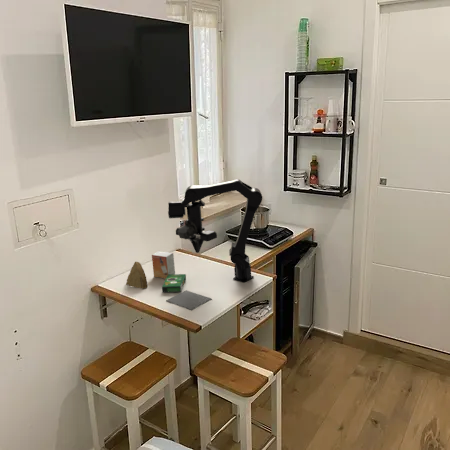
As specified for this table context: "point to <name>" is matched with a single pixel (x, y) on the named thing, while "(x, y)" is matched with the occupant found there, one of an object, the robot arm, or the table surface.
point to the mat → (188, 300)
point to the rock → (137, 277)
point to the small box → (163, 264)
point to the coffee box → (174, 283)
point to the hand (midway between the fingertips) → (197, 252)
